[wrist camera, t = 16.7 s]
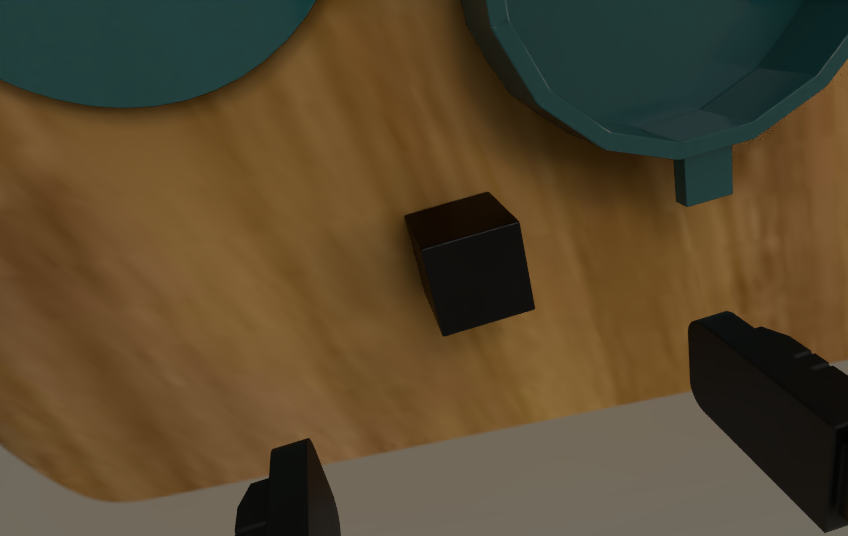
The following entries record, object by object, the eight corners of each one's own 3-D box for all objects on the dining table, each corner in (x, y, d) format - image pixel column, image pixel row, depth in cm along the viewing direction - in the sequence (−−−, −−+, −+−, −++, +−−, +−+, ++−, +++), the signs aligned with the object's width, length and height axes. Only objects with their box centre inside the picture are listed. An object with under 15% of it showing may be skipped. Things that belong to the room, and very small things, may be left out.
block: (424, 292, 32) (442, 337, 28) (403, 215, 30) (420, 250, 26) (504, 268, 33) (535, 309, 28) (488, 190, 31) (519, 221, 26)
